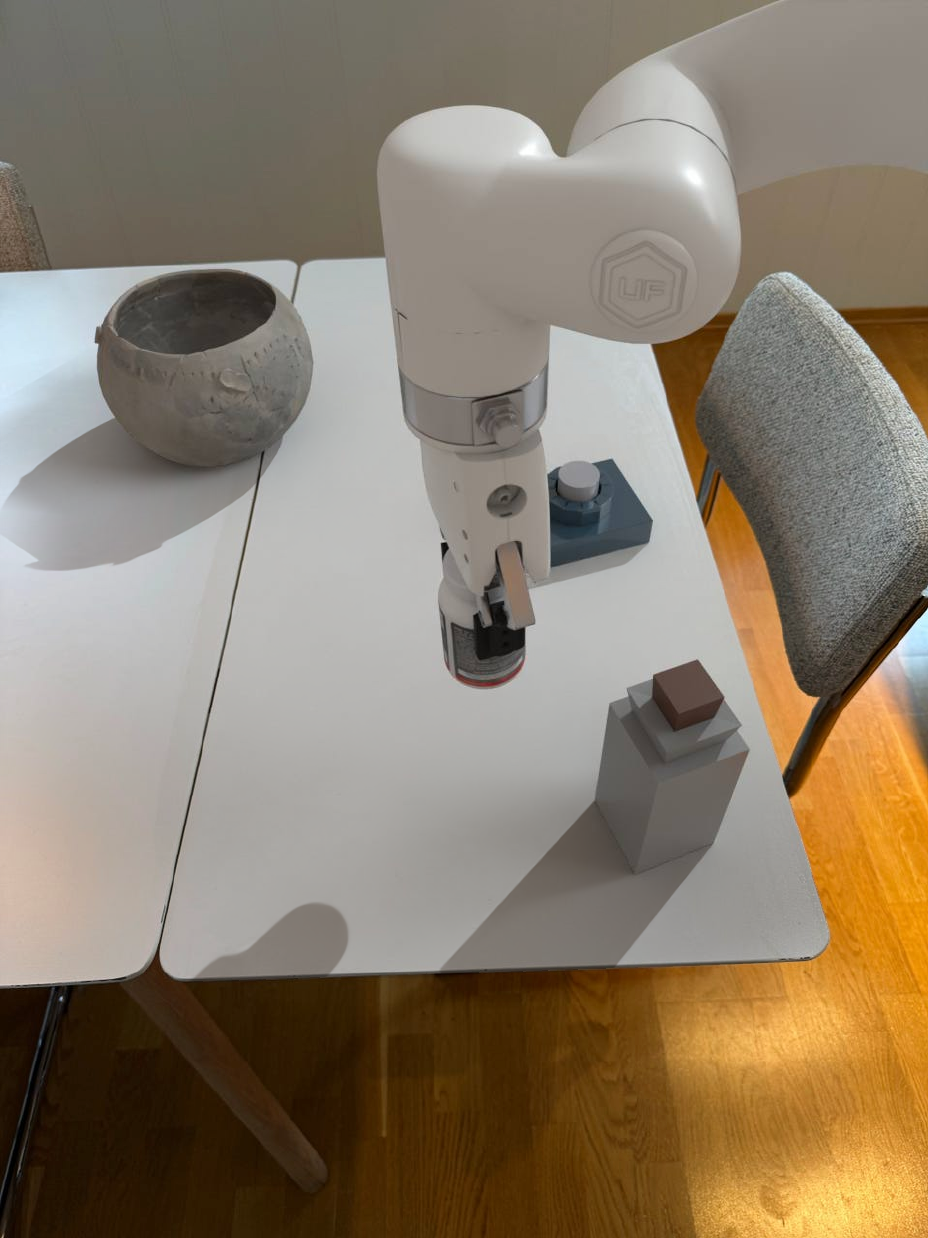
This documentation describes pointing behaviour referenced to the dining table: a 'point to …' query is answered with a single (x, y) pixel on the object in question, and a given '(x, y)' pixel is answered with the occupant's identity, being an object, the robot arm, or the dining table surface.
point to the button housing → (596, 518)
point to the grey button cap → (578, 481)
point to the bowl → (204, 365)
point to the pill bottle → (470, 634)
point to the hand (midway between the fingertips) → (483, 613)
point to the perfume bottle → (669, 765)
